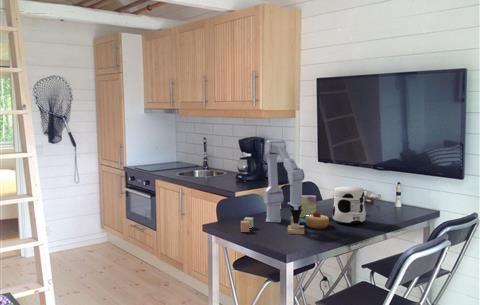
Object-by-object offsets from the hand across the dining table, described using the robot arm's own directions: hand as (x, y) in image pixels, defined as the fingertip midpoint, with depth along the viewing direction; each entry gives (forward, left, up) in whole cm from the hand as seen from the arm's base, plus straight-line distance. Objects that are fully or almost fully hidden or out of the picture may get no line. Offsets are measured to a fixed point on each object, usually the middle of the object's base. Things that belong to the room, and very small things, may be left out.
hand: (296, 221), depth 217 cm
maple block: (0, 0, -3) cm, 3 cm away
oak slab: (0, 0, -6) cm, 6 cm away
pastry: (-11, +11, -6) cm, 16 cm away
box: (-32, +6, -6) cm, 33 cm away
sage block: (-5, -24, -5) cm, 25 cm away
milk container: (-21, +28, -5) cm, 35 cm away
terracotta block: (+2, -25, -5) cm, 26 cm away
